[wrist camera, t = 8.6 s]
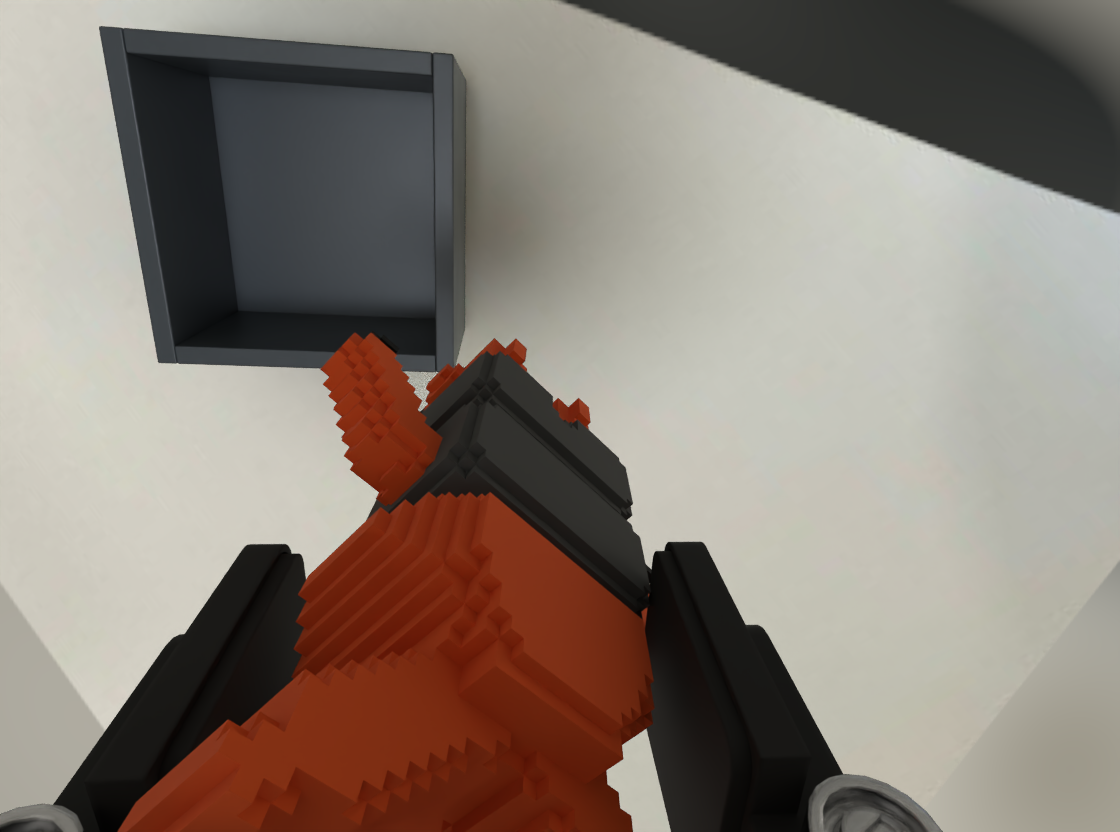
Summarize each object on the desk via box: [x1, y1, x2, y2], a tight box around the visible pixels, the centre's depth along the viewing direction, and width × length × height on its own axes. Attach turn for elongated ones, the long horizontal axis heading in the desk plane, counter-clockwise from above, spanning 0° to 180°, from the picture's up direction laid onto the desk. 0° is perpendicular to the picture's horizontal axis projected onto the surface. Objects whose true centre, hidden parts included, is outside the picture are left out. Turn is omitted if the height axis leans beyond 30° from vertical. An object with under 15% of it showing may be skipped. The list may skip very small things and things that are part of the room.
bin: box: [99, 26, 466, 372], centre depth 29 cm, size 13×13×8 cm
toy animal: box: [118, 330, 655, 832], centre depth 11 cm, size 8×6×12 cm
